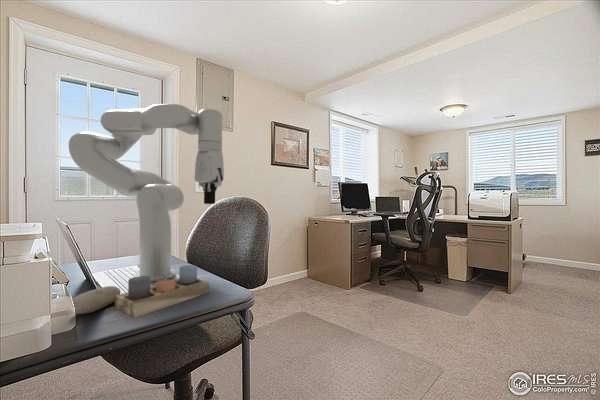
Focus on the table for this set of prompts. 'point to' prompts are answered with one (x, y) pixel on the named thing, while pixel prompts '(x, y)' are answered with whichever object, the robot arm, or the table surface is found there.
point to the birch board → (160, 298)
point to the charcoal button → (139, 287)
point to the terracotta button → (165, 286)
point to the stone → (95, 299)
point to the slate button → (188, 274)
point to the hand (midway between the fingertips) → (209, 203)
